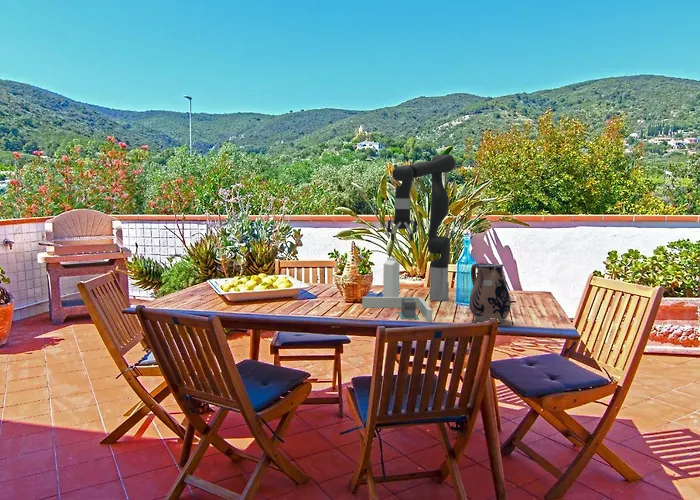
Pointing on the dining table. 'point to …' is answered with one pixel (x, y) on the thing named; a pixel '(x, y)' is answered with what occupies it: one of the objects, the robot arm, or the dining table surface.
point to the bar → (408, 307)
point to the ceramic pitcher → (489, 293)
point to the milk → (391, 278)
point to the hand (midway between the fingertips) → (401, 241)
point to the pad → (406, 318)
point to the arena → (396, 304)
